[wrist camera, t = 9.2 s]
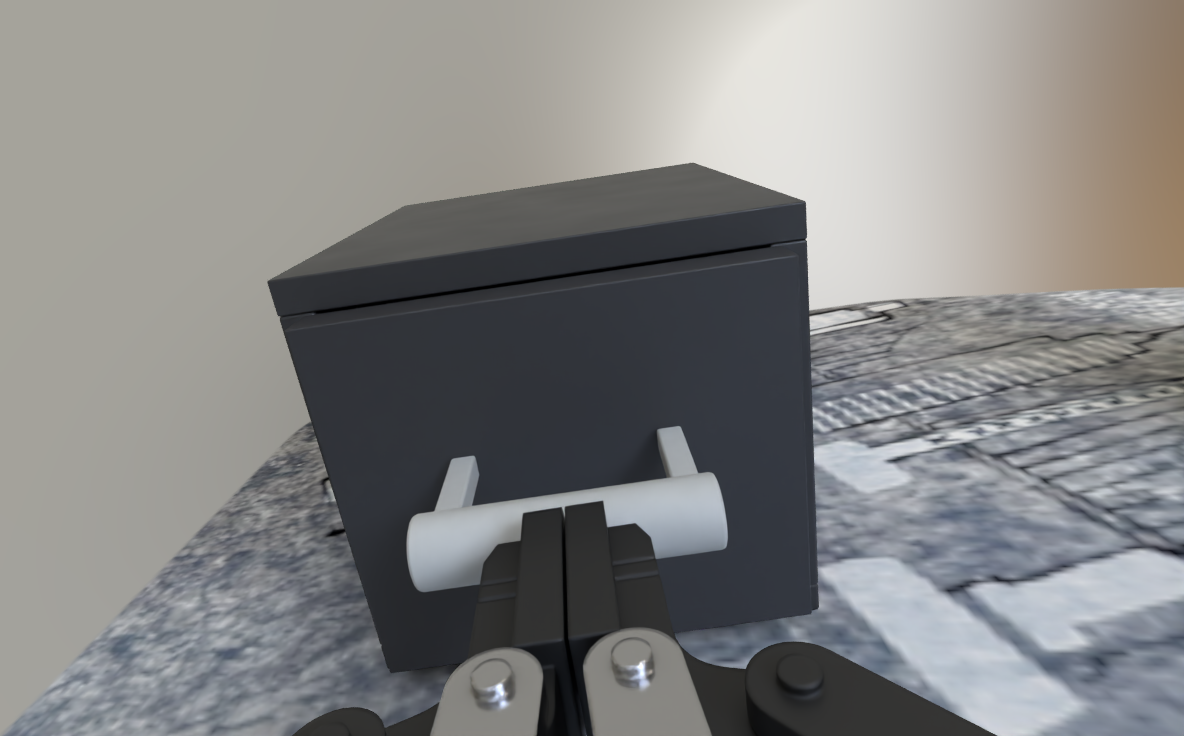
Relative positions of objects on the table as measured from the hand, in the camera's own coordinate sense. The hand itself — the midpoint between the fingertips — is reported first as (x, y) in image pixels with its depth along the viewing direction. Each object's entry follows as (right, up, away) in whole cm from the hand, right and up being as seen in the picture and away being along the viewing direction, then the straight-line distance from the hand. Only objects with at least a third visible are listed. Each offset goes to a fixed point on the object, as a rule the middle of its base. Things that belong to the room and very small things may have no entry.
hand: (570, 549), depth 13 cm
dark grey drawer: (0, -3, +10) cm, 11 cm away
